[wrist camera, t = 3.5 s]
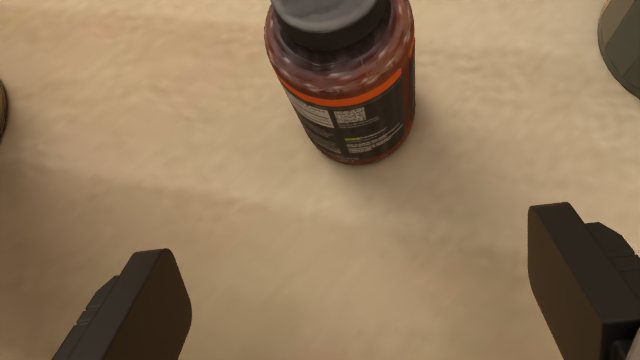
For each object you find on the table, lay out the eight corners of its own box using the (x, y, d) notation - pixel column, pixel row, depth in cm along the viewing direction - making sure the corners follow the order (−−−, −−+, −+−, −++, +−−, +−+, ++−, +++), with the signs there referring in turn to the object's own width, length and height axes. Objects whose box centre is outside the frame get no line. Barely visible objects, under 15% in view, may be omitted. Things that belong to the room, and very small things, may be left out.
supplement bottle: (370, 46, 30) (347, -123, 19) (438, 123, 28) (456, -19, 17) (283, 108, 29) (210, -28, 19) (345, 190, 27) (304, 90, 17)
